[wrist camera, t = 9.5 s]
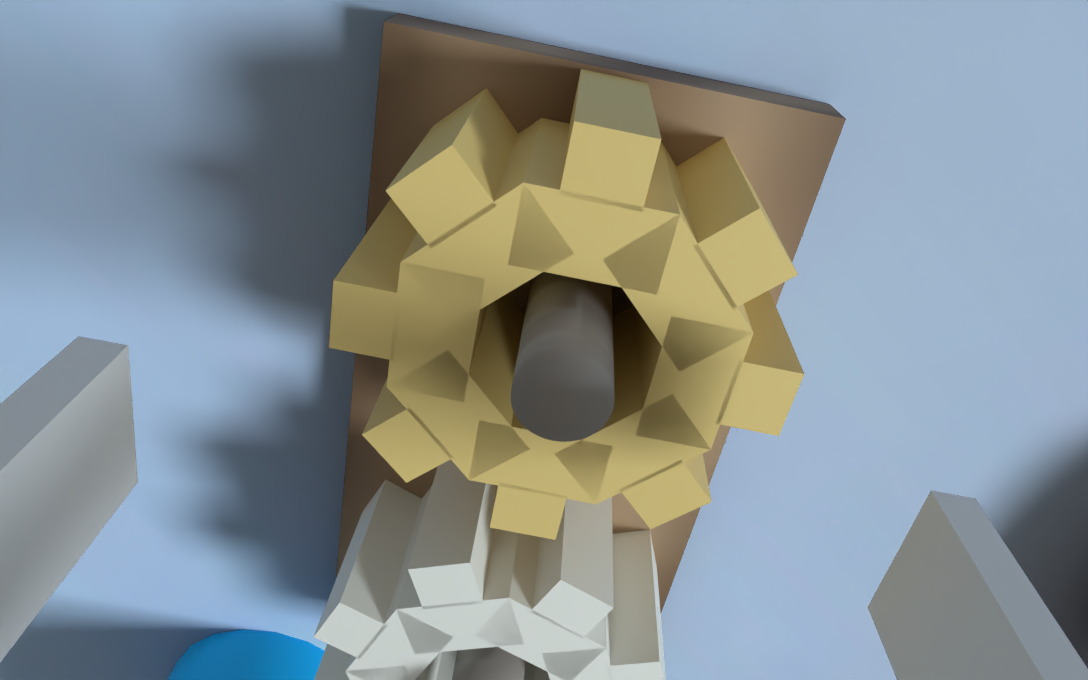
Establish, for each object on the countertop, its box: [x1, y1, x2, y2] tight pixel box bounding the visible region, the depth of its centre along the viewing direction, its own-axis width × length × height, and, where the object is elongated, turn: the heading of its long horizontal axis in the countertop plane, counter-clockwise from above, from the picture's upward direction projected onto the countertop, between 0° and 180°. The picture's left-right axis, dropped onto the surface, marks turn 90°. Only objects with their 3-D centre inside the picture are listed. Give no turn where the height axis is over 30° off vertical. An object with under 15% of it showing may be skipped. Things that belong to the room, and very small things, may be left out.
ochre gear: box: [329, 69, 804, 540], centre depth 19 cm, size 10×10×5 cm
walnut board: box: [336, 13, 846, 680], centre depth 22 cm, size 11×21×8 cm, turn 169°
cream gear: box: [314, 459, 666, 680], centre depth 24 cm, size 10×10×5 cm
